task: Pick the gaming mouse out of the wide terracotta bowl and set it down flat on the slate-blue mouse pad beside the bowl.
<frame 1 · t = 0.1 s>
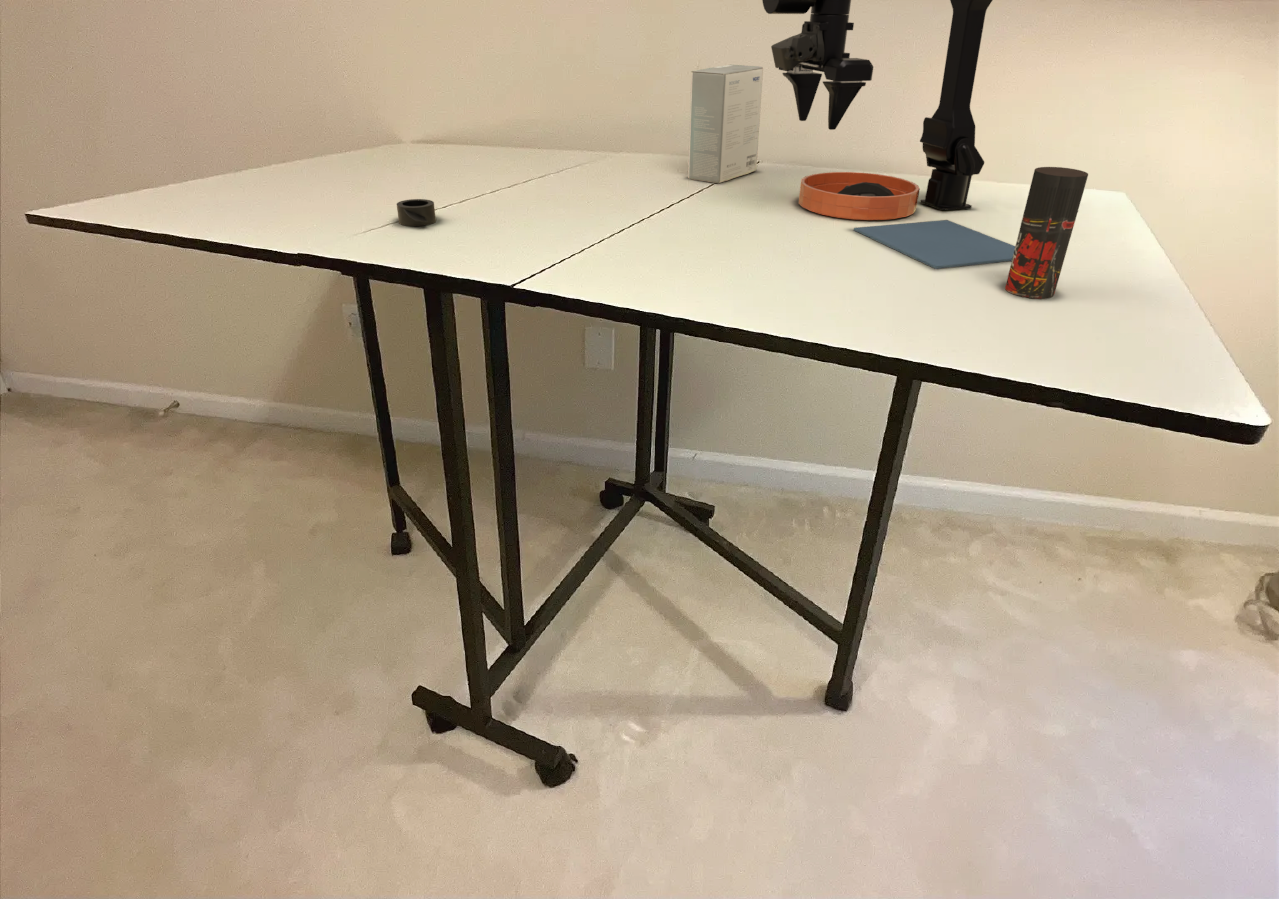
hand: (816, 124, 129), 15 cm above the table, tool pointing down, fingers open, 9 cm apart
hard drive box: (722, 176, 165), on the table
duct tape: (417, 222, 131), on the table
deodorant: (1029, 292, 105), on the table
gaming mouse: (856, 206, 143), resting on bowl
mouse pad: (941, 243, 124), on the table
bowl: (855, 206, 143), on the table
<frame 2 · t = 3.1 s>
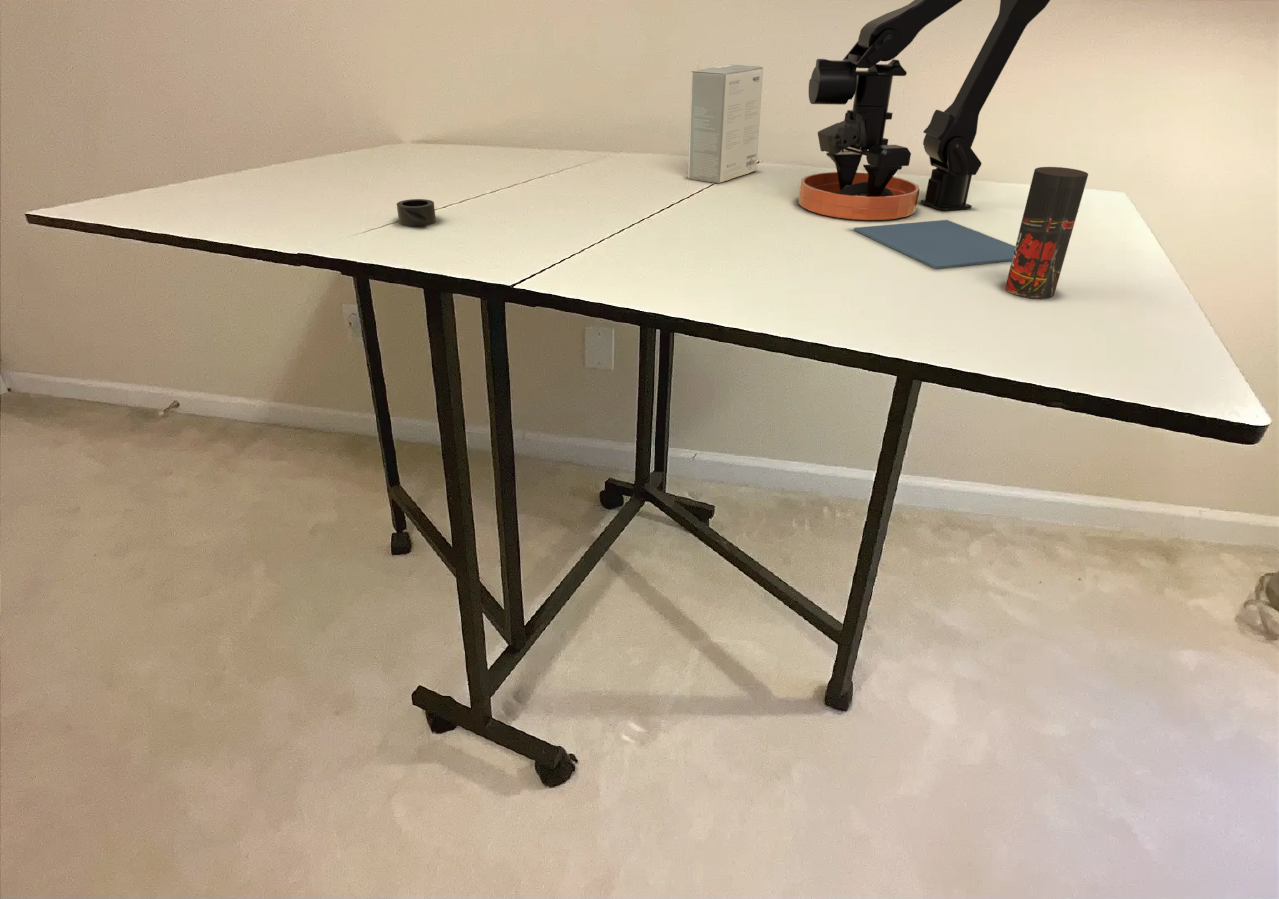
hand: (856, 200, 142), 1 cm above the table, tool pointing down, fingers closed on gaming mouse, 8 cm apart
gaming mouse: (855, 205, 143), resting on bowl, touching gripper
everything else where it was.
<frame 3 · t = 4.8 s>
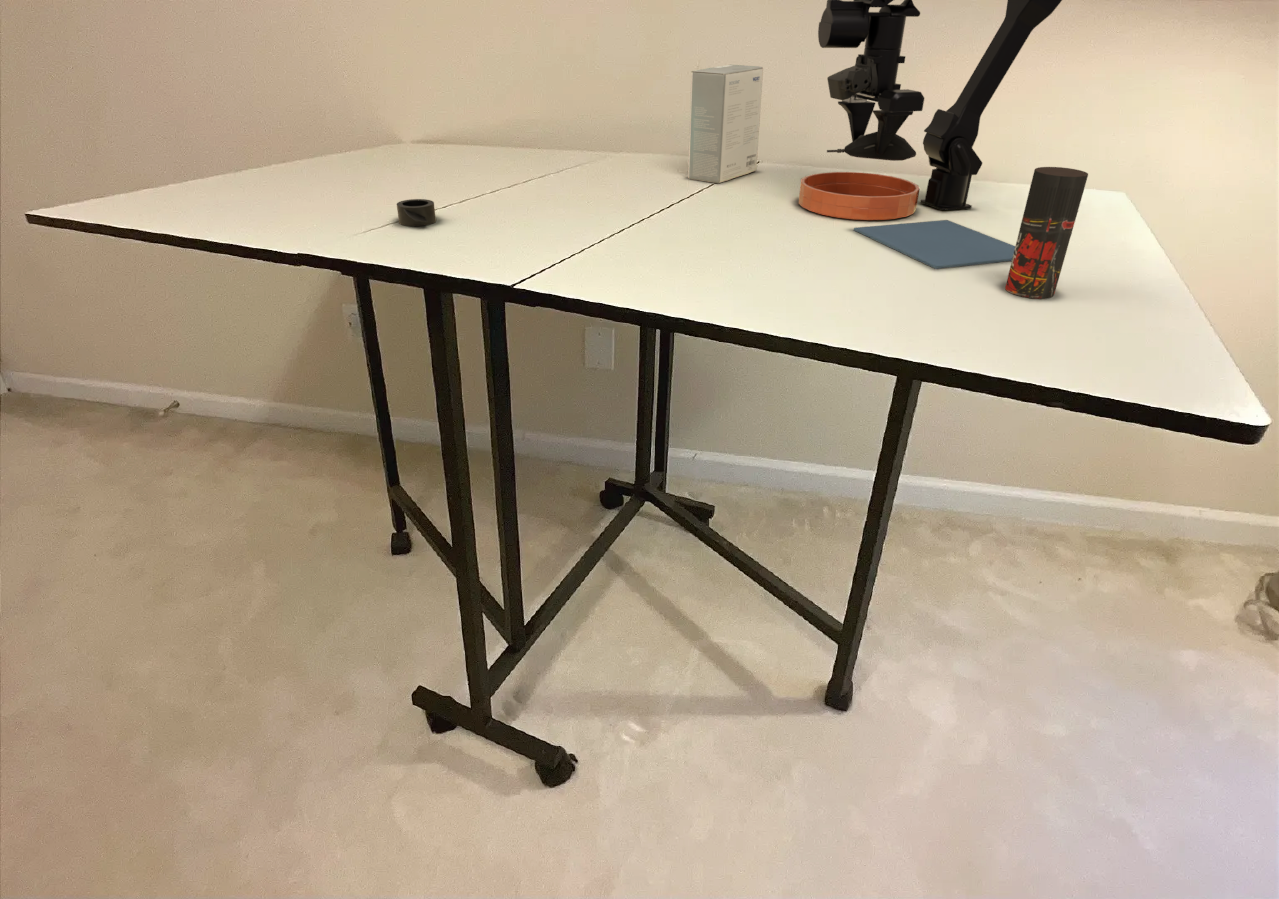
hand: (867, 150, 138), 10 cm above the table, tool pointing down, fingers closed on gaming mouse, 7 cm apart
gaming mouse: (870, 156, 139), point 9 cm above the table, touching gripper
everything else where it was.
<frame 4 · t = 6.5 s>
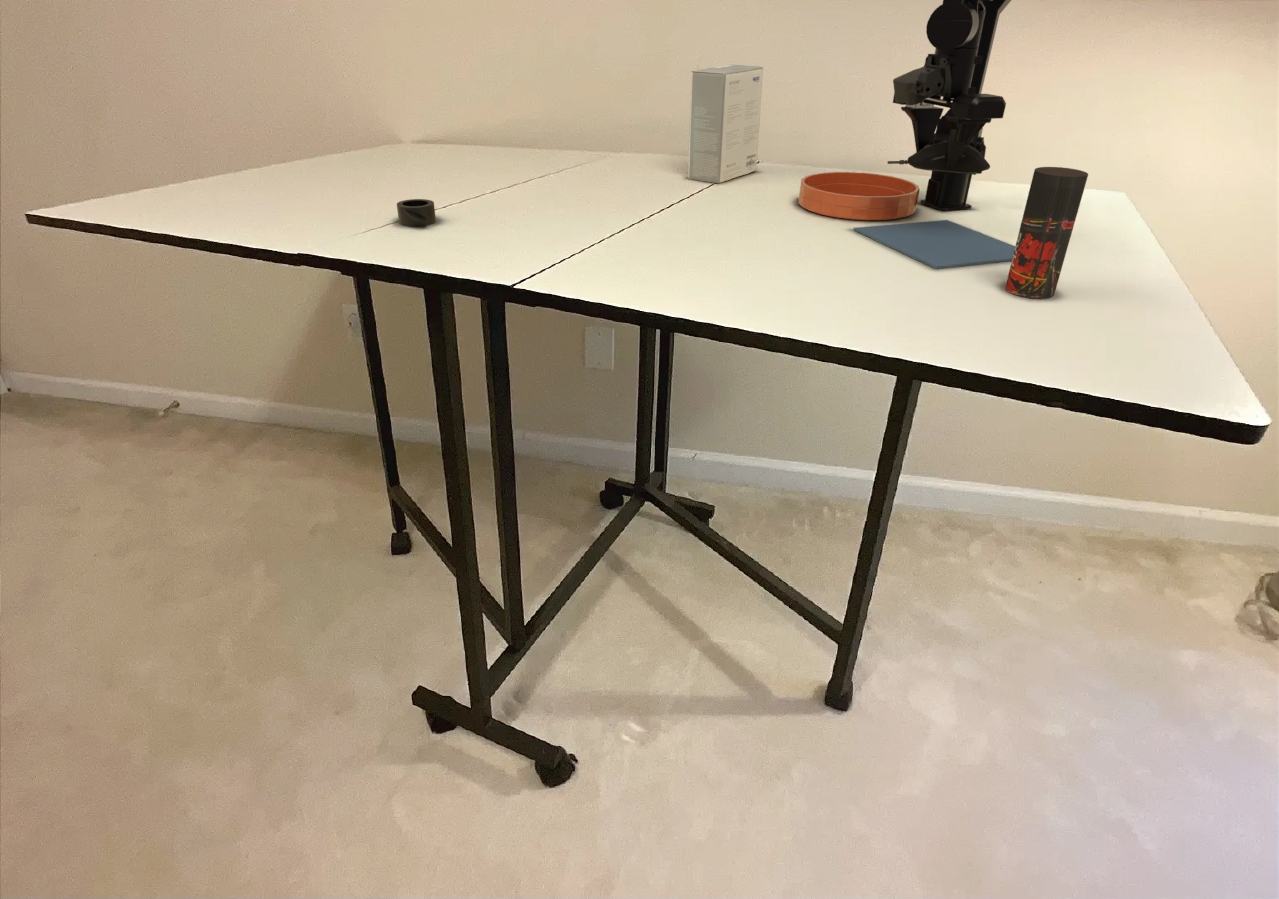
hand: (934, 161, 122), 11 cm above the table, tool pointing down, fingers closed on gaming mouse, 7 cm apart
gaming mouse: (936, 169, 123), point 10 cm above the table, touching gripper
everything else where it was.
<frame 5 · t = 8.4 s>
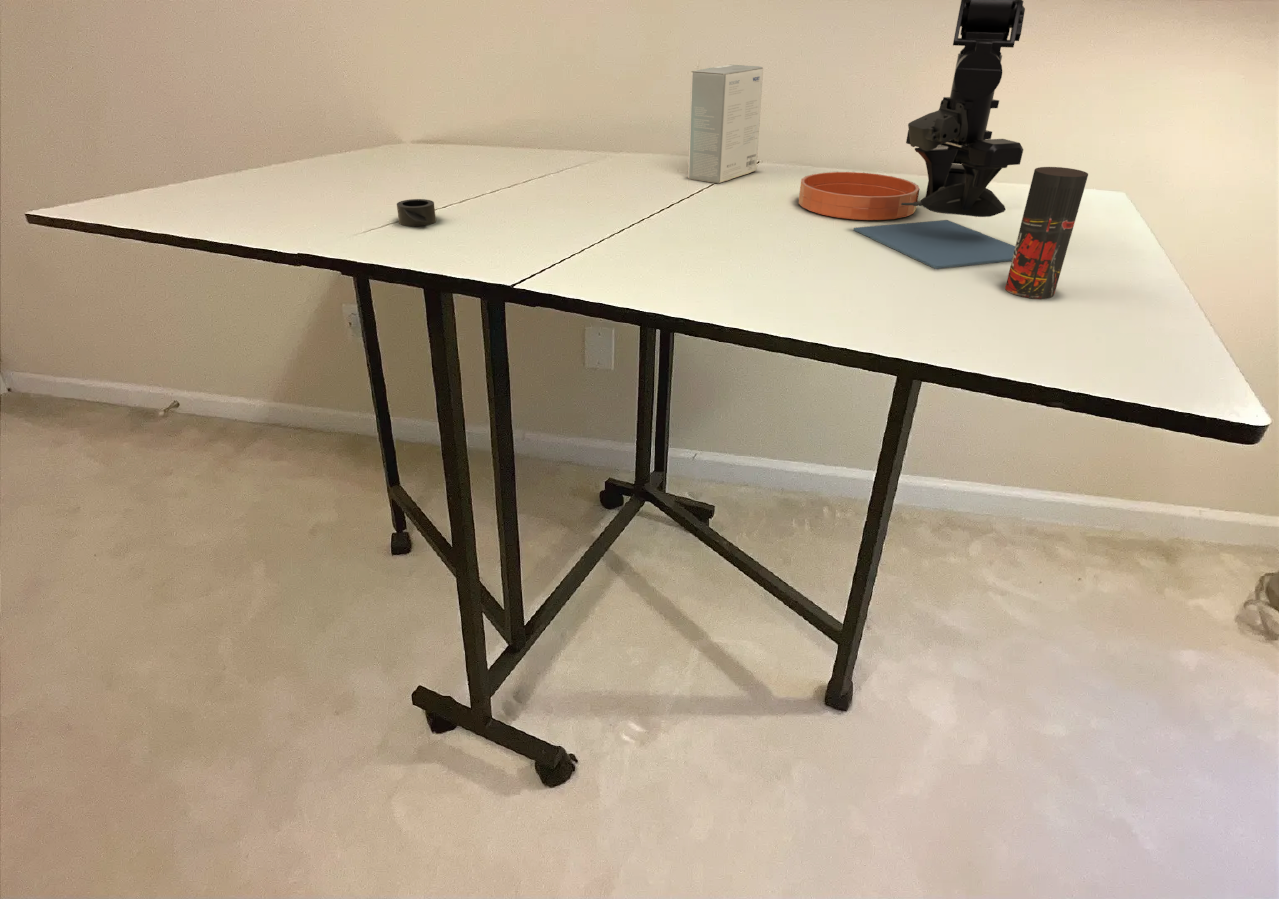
hand: (949, 204, 121), 6 cm above the table, tool pointing down, fingers closed on gaming mouse, 7 cm apart
gaming mouse: (951, 211, 122), point 5 cm above the table, touching gripper
everything else where it was.
when the fingers open (1 cm above the table, at t = 10.2 s): gaming mouse stays where it is, resting on mouse pad.
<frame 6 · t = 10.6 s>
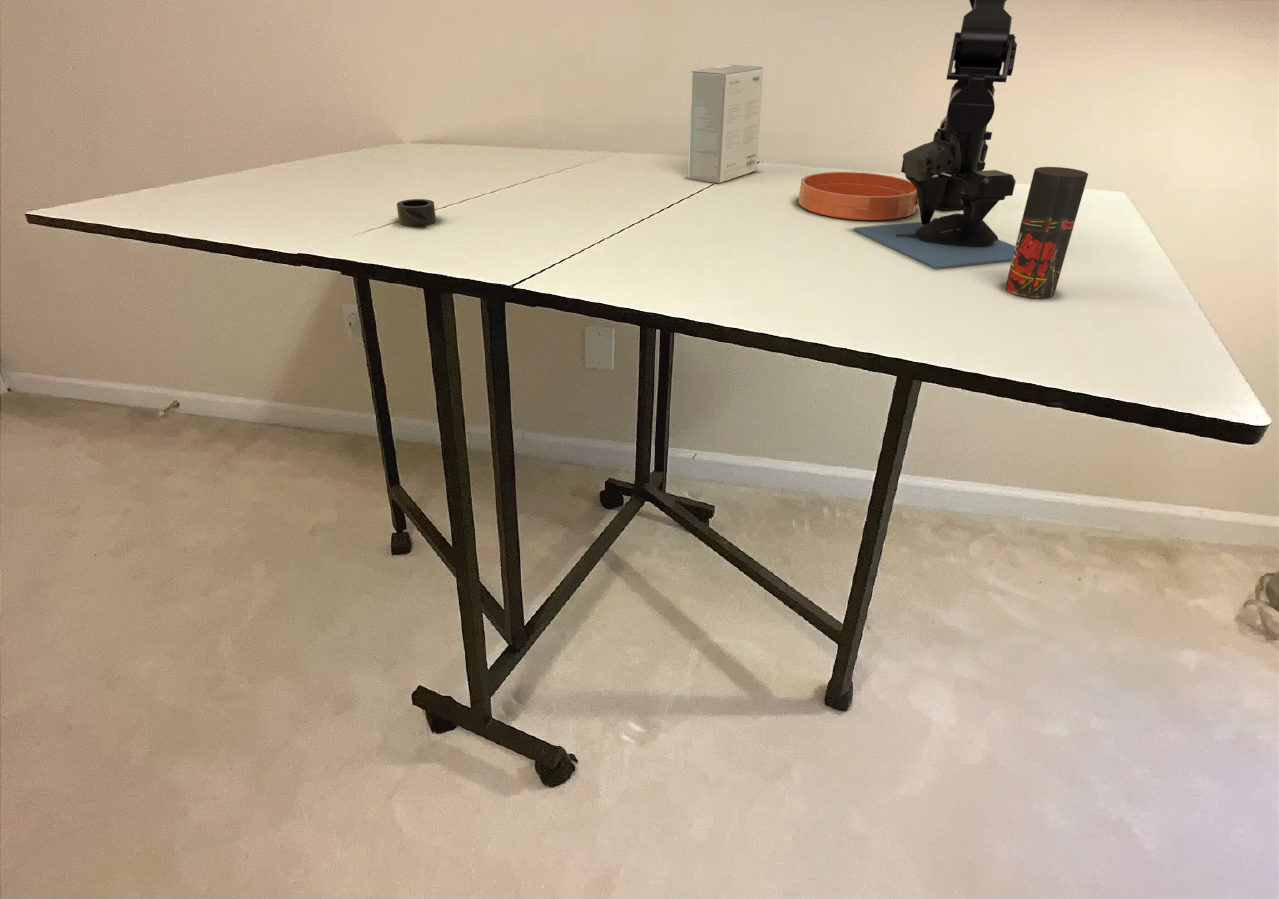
hand: (943, 232, 123), 2 cm above the table, tool pointing down, fingers open, 9 cm apart
gaming mouse: (945, 241, 124), resting on mouse pad
everything else where it was.
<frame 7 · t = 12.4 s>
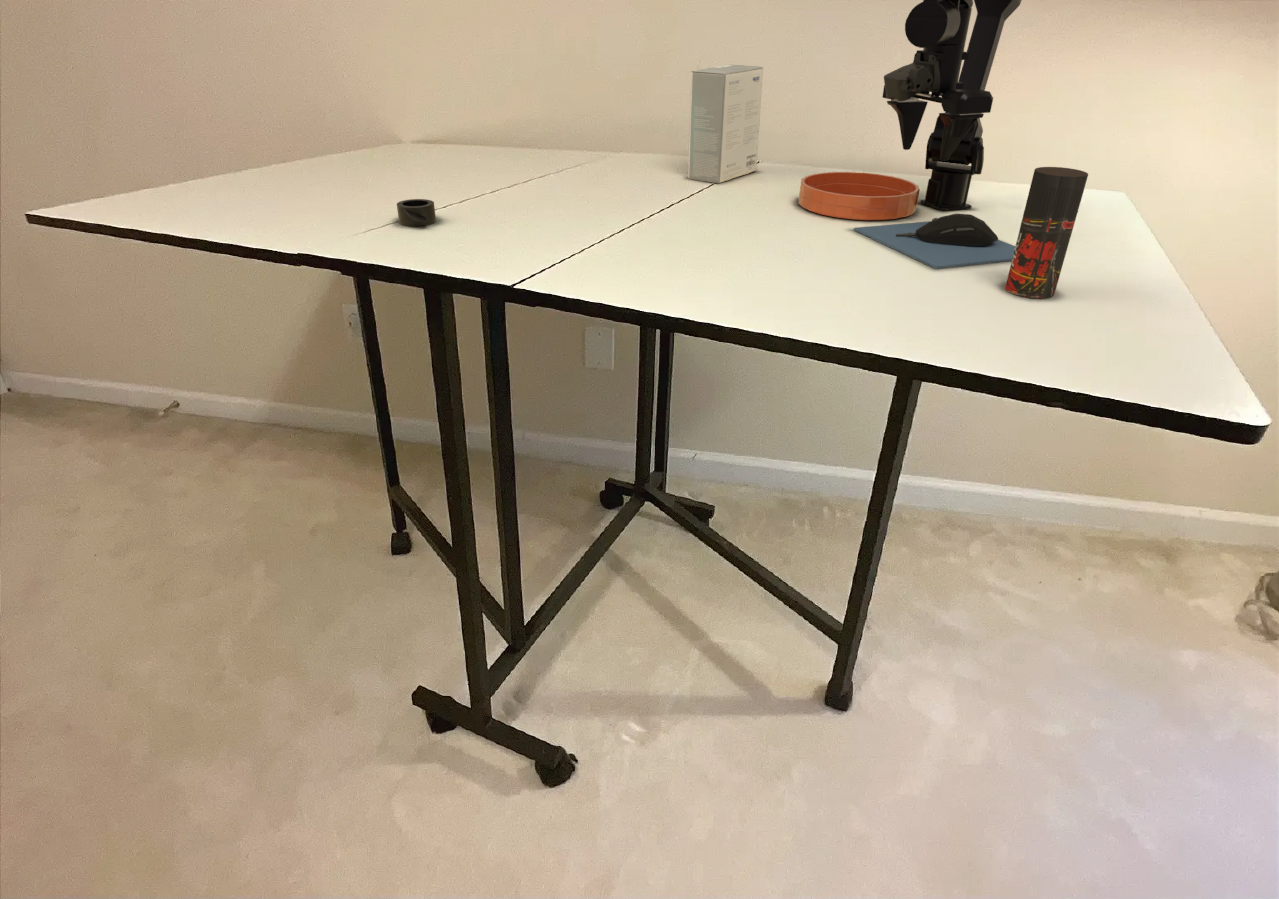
hand: (924, 154, 126), 11 cm above the table, tool pointing down, fingers open, 9 cm apart
nothing on the table moved.
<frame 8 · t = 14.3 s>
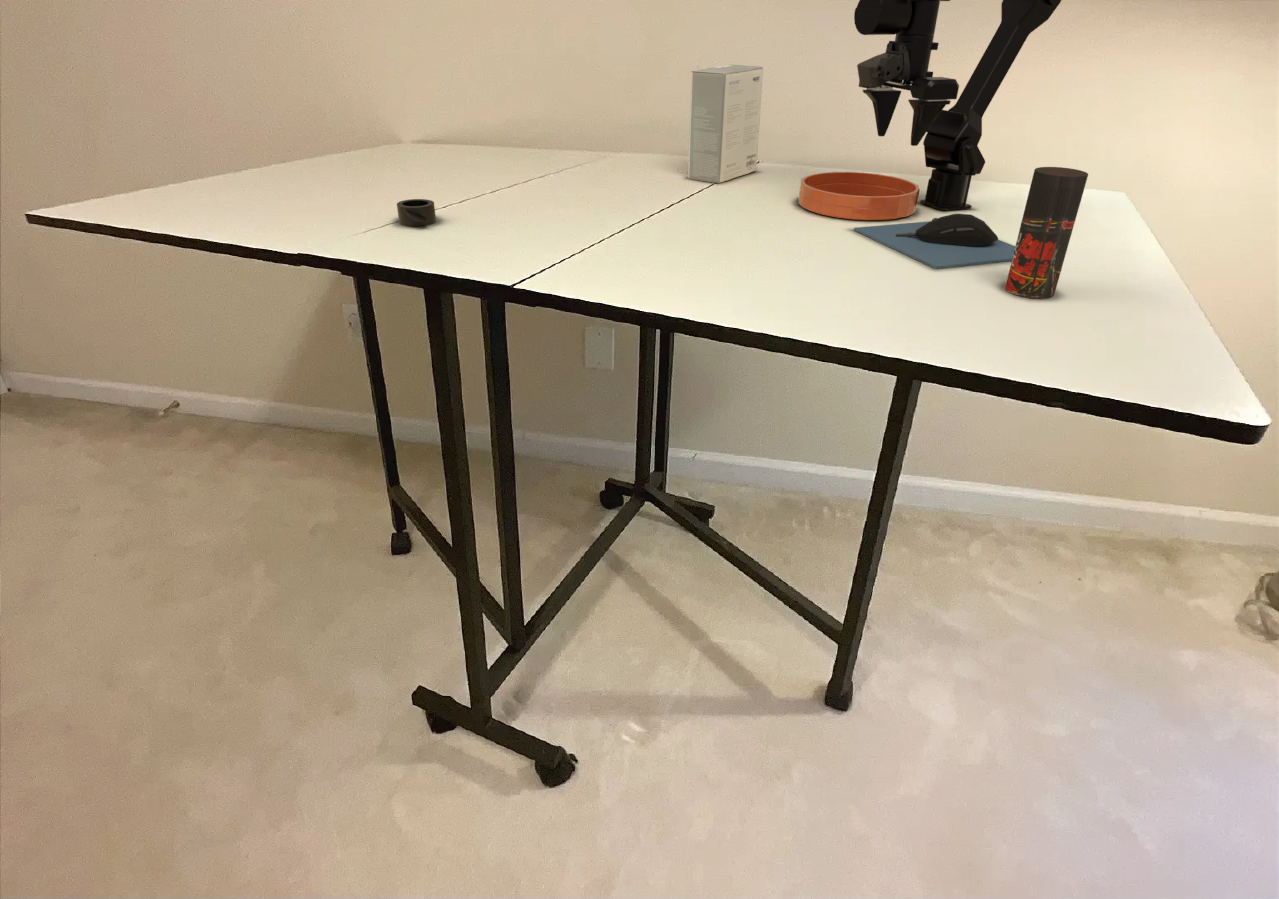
hand: (897, 140, 133), 12 cm above the table, tool pointing down, fingers open, 9 cm apart
nothing on the table moved.
at the end: gaming mouse inside the target area on the mouse pad (0.9 cm from its centre), point 0.2 cm above the mouse pad's base; gaming mouse tilted 0°; gaming mouse touching mouse pad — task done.
